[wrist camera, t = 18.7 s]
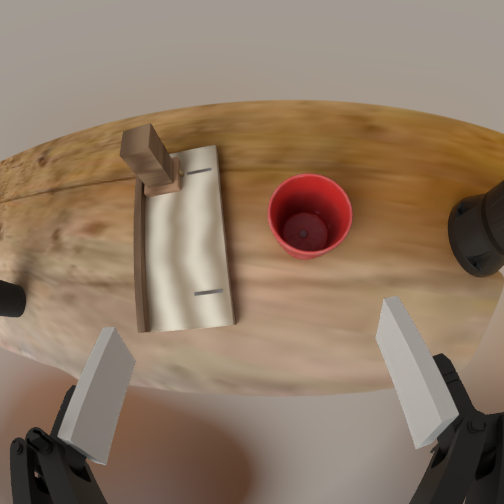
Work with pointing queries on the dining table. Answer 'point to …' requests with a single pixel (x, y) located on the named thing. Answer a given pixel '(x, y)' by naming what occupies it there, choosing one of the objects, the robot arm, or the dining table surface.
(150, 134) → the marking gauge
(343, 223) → the flower pot
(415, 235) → the dining table surface
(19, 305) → the travel mug
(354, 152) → the dining table surface
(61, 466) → the robot arm
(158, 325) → the birch board
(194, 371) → the dining table surface
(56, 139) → the dining table surface
